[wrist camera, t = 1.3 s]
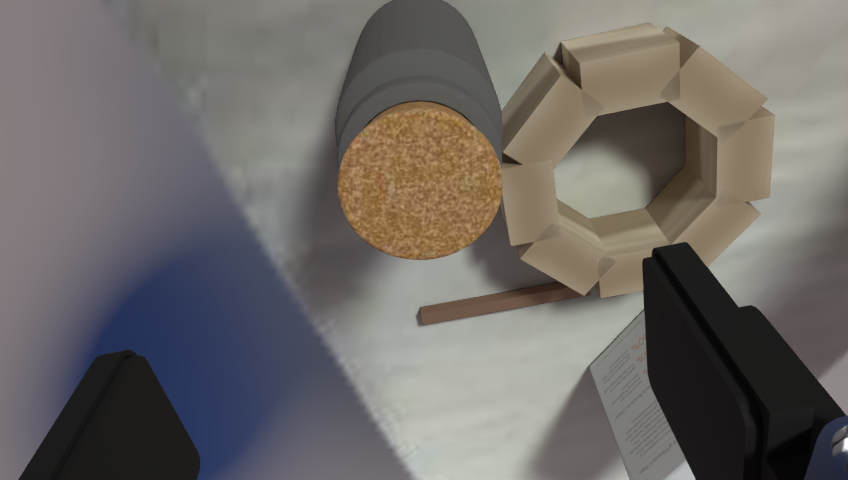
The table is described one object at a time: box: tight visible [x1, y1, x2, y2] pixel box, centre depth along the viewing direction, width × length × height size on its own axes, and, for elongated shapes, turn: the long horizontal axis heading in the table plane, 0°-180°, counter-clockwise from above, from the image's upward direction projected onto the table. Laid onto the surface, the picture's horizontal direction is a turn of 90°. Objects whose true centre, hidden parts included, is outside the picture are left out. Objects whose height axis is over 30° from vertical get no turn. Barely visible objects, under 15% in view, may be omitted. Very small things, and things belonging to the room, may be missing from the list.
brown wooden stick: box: [420, 282, 591, 325], centre depth 38 cm, size 10×1×1 cm, turn 102°
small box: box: [590, 311, 696, 480], centre depth 36 cm, size 8×6×10 cm
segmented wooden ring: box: [500, 23, 775, 298], centre depth 32 cm, size 12×12×4 cm
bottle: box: [335, 0, 503, 260], centre depth 25 cm, size 6×6×15 cm
